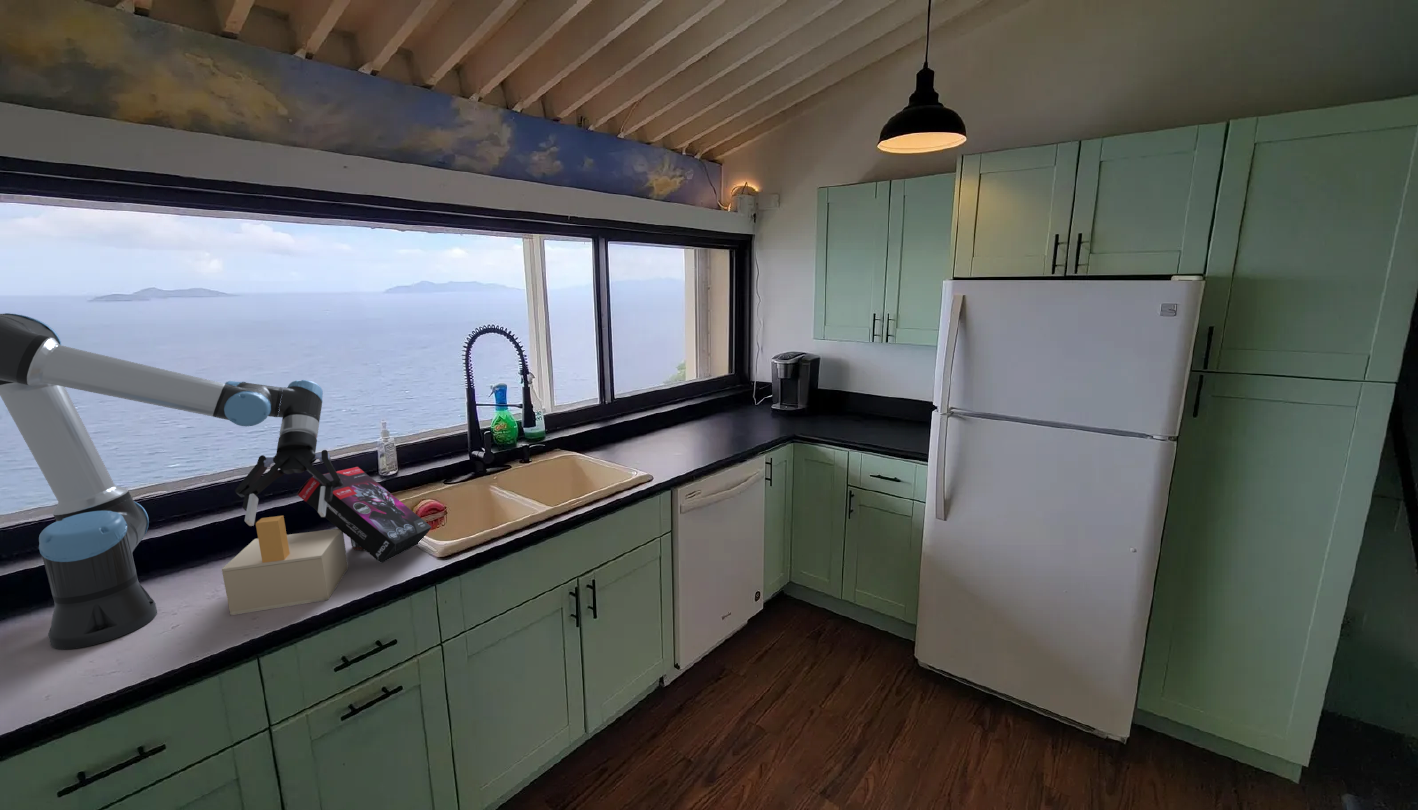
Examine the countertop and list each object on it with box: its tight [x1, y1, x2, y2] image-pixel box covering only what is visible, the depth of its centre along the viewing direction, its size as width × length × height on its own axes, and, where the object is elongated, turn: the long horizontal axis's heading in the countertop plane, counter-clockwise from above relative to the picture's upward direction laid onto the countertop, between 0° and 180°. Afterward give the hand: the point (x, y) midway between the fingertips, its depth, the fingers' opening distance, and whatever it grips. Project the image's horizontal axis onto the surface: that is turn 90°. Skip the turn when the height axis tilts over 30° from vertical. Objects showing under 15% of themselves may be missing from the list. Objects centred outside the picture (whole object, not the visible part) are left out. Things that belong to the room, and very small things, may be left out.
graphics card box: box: [296, 466, 432, 564], centre depth 144 cm, size 17×7×27 cm
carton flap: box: [221, 515, 342, 573], centre depth 126 cm, size 18×16×10 cm
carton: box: [221, 532, 349, 616], centre depth 128 cm, size 18×16×10 cm
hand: (285, 518), depth 124 cm, fingers open, 13 cm apart
